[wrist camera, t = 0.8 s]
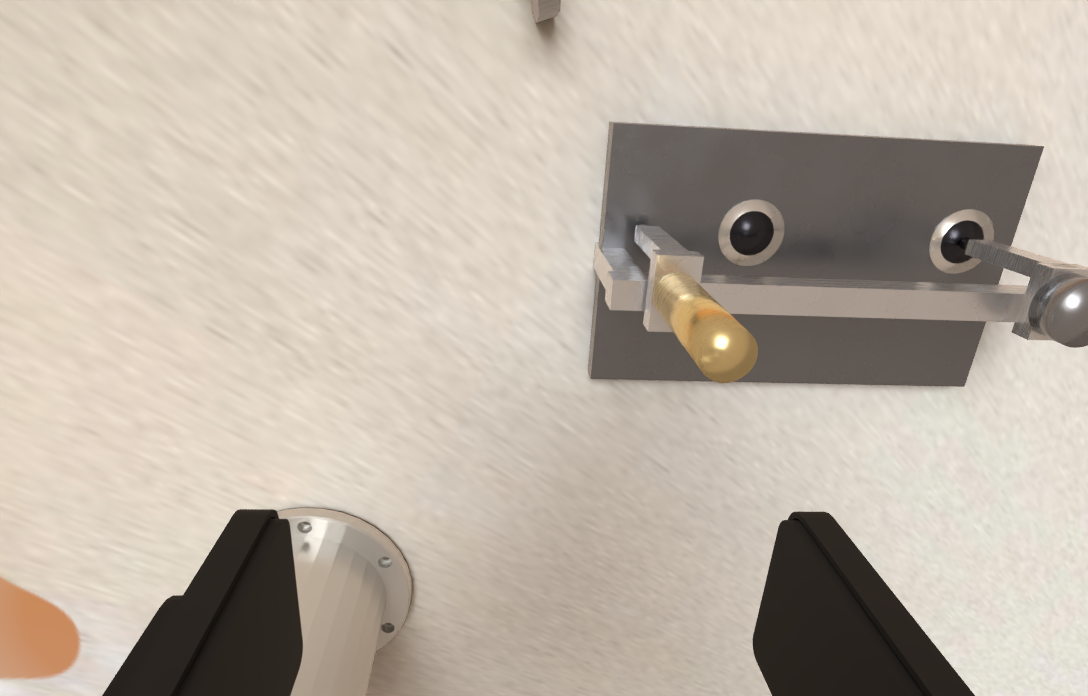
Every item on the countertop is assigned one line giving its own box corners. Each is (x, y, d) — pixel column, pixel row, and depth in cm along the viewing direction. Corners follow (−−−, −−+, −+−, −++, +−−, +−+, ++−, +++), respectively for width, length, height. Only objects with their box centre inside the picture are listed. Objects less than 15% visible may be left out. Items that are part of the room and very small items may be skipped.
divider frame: (971, 289, 38) (1124, 352, 28) (587, 275, 36) (618, 339, 27) (989, 232, 36) (1156, 279, 27) (592, 215, 34) (626, 260, 25)
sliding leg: (654, 285, 34) (748, 401, 22) (618, 284, 34) (691, 400, 21) (662, 223, 33) (767, 307, 20) (625, 221, 33) (706, 305, 20)
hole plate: (951, 378, 40) (965, 387, 39) (587, 370, 38) (590, 379, 37) (1026, 144, 35) (1045, 146, 33) (609, 121, 33) (614, 122, 31)
